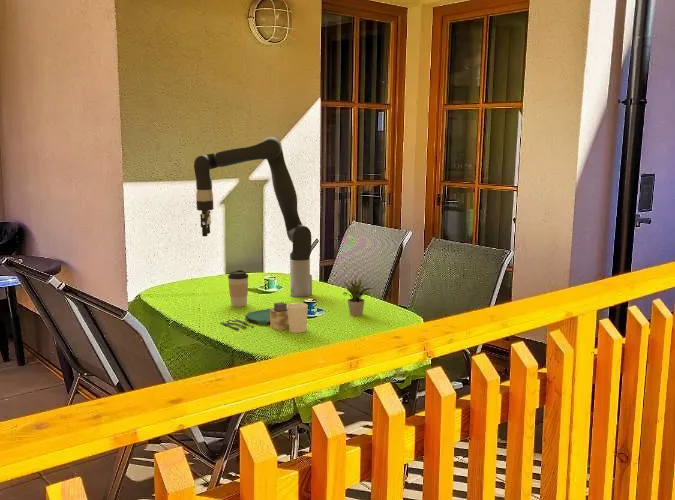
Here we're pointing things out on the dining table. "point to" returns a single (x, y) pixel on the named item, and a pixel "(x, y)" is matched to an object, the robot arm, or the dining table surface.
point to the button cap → (280, 306)
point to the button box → (279, 319)
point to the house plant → (356, 298)
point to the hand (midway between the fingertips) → (206, 234)
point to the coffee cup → (238, 288)
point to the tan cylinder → (297, 317)
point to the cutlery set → (252, 318)
